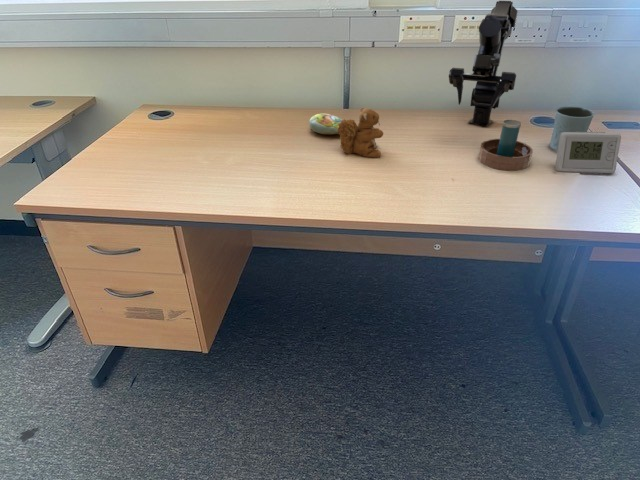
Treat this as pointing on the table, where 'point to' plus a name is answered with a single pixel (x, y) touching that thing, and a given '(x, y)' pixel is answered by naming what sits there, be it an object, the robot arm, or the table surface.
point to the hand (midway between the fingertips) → (475, 105)
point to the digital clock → (587, 152)
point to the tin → (508, 138)
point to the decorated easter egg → (325, 124)
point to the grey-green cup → (570, 122)
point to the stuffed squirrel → (361, 134)
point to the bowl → (501, 162)
